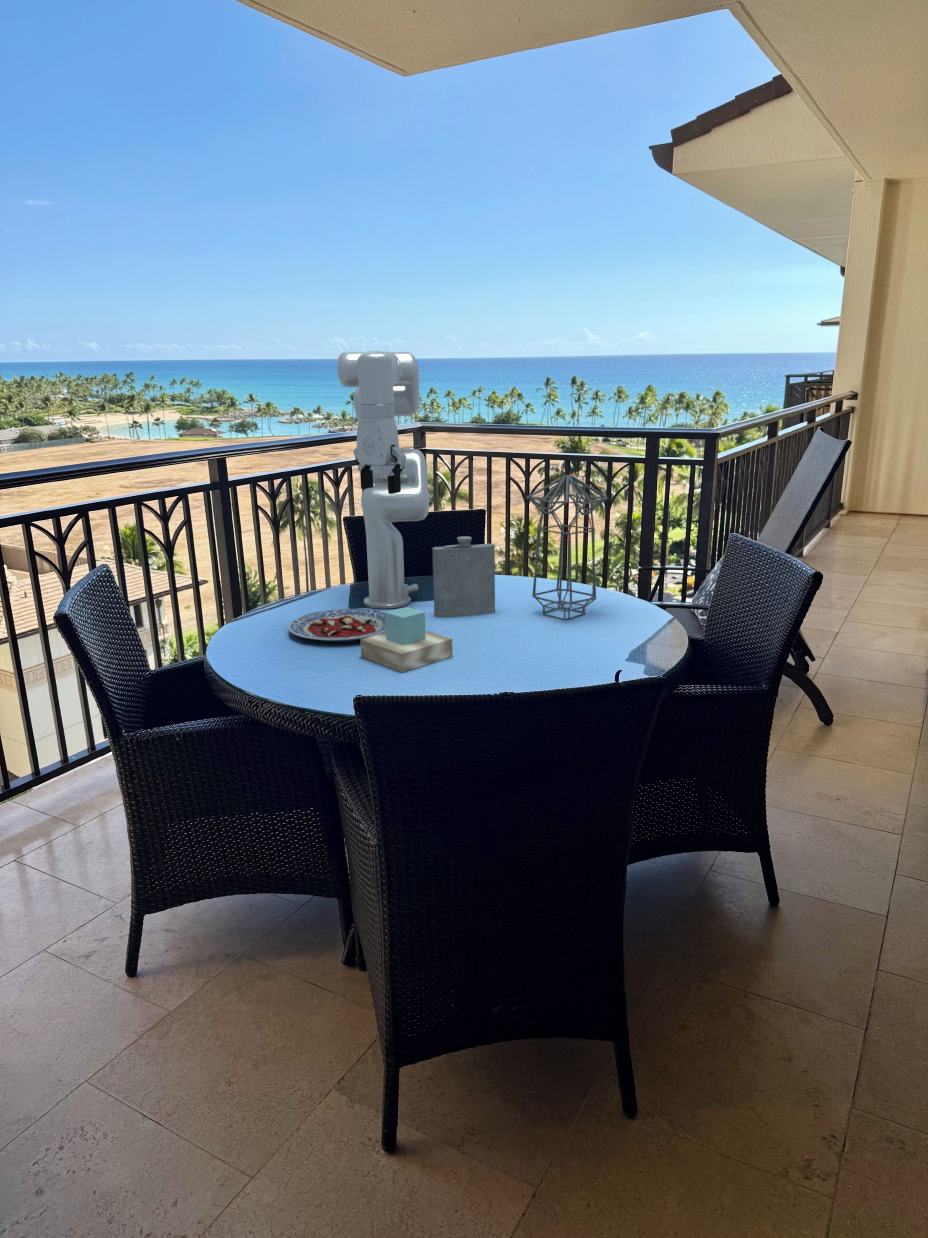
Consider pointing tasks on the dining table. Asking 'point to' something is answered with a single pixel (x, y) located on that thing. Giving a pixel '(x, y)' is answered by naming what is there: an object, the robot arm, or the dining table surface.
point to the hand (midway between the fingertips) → (380, 490)
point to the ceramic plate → (339, 625)
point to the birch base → (406, 651)
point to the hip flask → (464, 579)
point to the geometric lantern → (577, 489)
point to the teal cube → (405, 625)
